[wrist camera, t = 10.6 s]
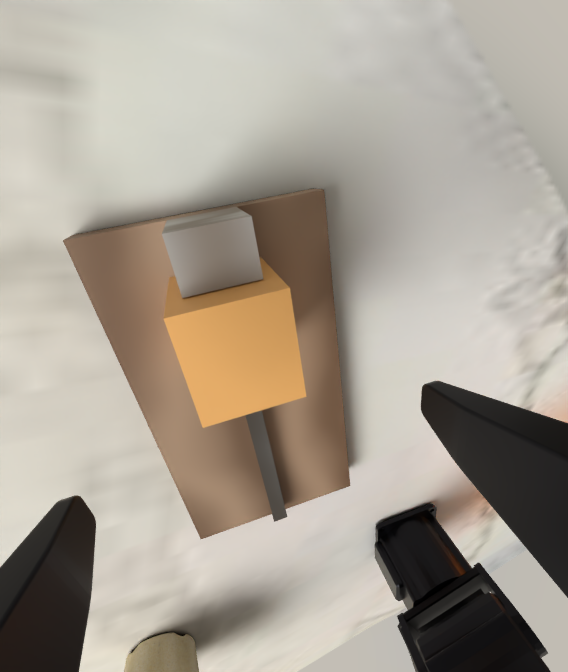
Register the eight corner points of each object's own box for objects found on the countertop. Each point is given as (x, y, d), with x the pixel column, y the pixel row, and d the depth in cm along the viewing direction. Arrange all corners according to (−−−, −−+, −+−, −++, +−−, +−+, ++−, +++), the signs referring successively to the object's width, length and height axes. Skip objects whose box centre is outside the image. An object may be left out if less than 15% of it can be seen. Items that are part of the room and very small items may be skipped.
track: (313, 188, 17) (362, 193, 13) (342, 471, 28) (375, 532, 23) (73, 235, 15) (23, 261, 11) (200, 520, 26) (203, 599, 21)
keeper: (260, 256, 16) (289, 287, 12) (276, 343, 19) (306, 396, 14) (169, 277, 16) (163, 318, 11) (197, 364, 18) (202, 428, 14)
